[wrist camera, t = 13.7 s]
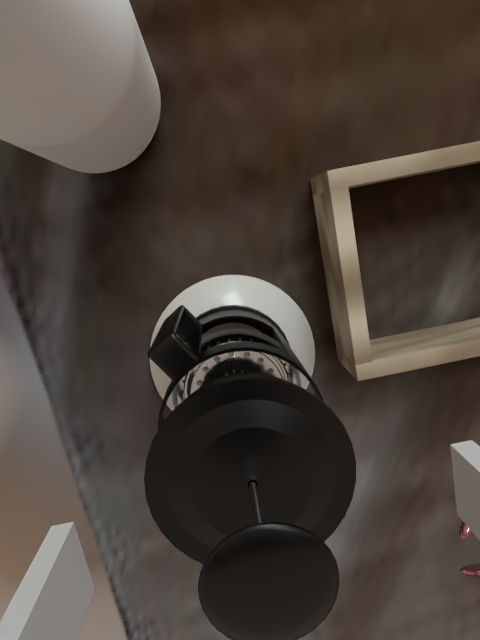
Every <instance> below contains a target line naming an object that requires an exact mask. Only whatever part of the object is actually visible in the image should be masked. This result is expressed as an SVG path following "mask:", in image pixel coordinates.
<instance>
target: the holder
mask: <svg viewBox="0 0 480 640" xmlns="http://www.w3.org/2000/svg"><path fill="white" fill-rule="evenodd" d="M476 163H480V141H477V142H472V143H467V144H462V145H457V146H452V147H447V148H442V149H436V150H431V151H426V152H421V153H416V154H411V155H406V156H401V157H396V158H391V159H385V160H380V161H375V162H370V163H365V164H360V165H355V166H350V167H345V168H340V169H334V170H329V171H326V172H324V173H322V174H320V175H318V176H316V177H314V178H312V179H310V181H311V187H312V194H313V200H314V207H315V213H316V220H317V226H318V233H319V239H320V246H321V252H322V259H323V265H324V271H325V278H326V284H327V291H328V297H329V304H330V310H331V317H332V323H333V330H334V336H335V343H336V349H337V356H338V361H339V362H340V363H341V364H342V365H343V366H344V367H345V368H346V369H347V370H348V372H349V373H350V374H351V375H352V376H353V377H354V378H355V379H356V380H357V381H362V380H367V379H372V378H376V377H381V376H386V375H391V374H396V373H401V372H405V371H410V370H415V369H420V368H425V367H429V366H434V365H439V364H444V363H449V362H453V361H458V360H463V359H468V358H473V357H477V356H480V317H479V318H474V319H469V320H465V321H460V322H455V323H450V324H445V325H440V326H436V327H431V328H426V329H421V330H416V331H411V332H406V333H402V334H397V335H392V336H387V337H382V338H377V339H372V340H369V333H368V326H367V319H366V312H365V304H364V297H363V290H362V282H361V275H360V268H359V261H358V253H357V246H356V239H355V232H354V224H353V217H352V210H351V202H350V195H349V188H354V187H359V186H364V185H370V184H375V183H380V182H385V181H390V180H395V179H400V178H405V177H410V176H415V175H420V174H425V173H430V172H435V171H440V170H446V169H451V168H456V167H461V166H466V165H471V164H476Z"/></svg>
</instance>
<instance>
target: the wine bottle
mask: <svg viewBox="0 0 480 640" xmlns="http://www.w3.org/2000/svg"><path fill="white" fill-rule="evenodd" d="M160 108H161V101H160V90H159V86H158V81H157V78H156V75H155V72H154V69H153V66H152V64H151V61H150V58H149V55H148V52H147V50H146V47H145V44H144V41H143V38H142V36H141V33H140V30H139V27H138V24H137V22H136V19H135V16H134V13H133V10H132V8H131V5H130V2H129V0H0V139H1V140H3V141H6V142H8V143H10V144H13V145H15V146H17V147H20V148H22V149H24V150H27V151H29V152H31V153H34V154H36V155H38V156H41V157H43V158H45V159H48V160H50V161H52V162H55V163H57V164H59V165H62V166H64V167H67V168H70V169H73V170H76V171H79V172H85V173H105V172H109V171H114V170H117V169H119V168H121V167H124V166H126V165H127V164H129V163H130V162H132V161H133V160H135V159H136V158H137V157H138V156H139V155H140V154H141V153H142V152H143V151H144V150H145V149H146V147H147V146H148V144H149V143H150V142H151V140H152V138H153V136H154V133H155V131H156V129H157V125H158V121H159V118H160Z"/></svg>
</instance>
